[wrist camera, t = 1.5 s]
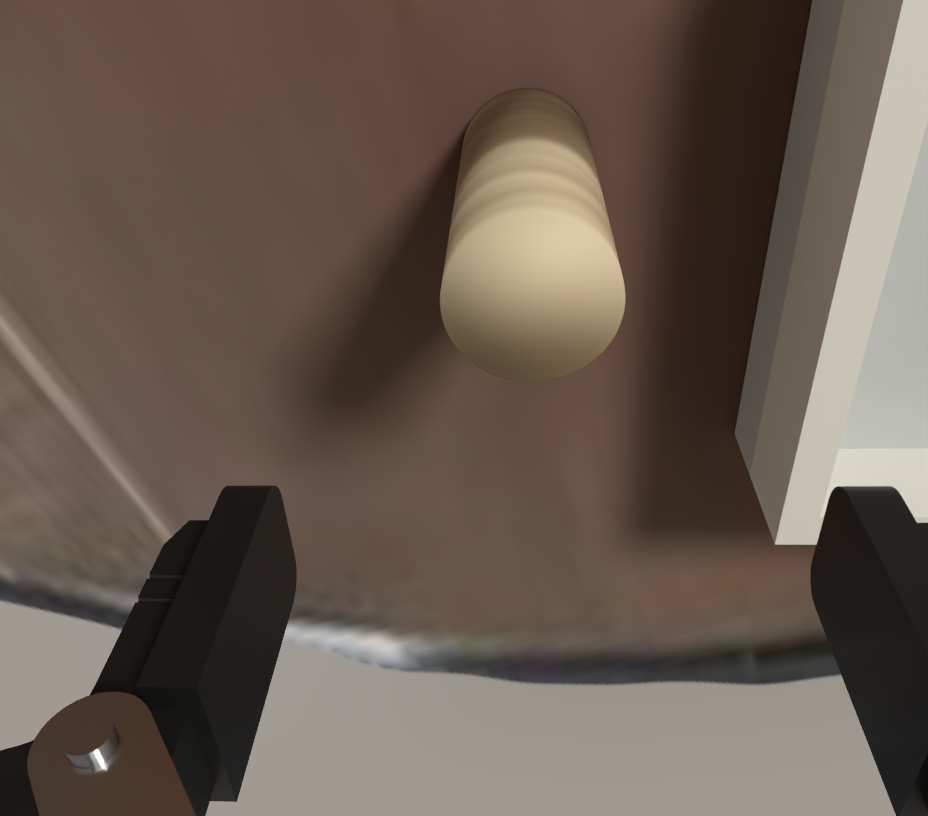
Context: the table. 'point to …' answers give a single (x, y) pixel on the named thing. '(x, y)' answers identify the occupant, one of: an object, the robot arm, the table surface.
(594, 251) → the peg
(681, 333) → the table surface
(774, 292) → the tray
